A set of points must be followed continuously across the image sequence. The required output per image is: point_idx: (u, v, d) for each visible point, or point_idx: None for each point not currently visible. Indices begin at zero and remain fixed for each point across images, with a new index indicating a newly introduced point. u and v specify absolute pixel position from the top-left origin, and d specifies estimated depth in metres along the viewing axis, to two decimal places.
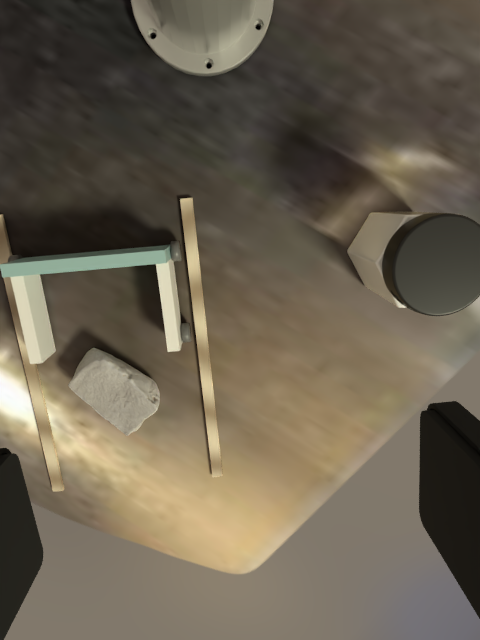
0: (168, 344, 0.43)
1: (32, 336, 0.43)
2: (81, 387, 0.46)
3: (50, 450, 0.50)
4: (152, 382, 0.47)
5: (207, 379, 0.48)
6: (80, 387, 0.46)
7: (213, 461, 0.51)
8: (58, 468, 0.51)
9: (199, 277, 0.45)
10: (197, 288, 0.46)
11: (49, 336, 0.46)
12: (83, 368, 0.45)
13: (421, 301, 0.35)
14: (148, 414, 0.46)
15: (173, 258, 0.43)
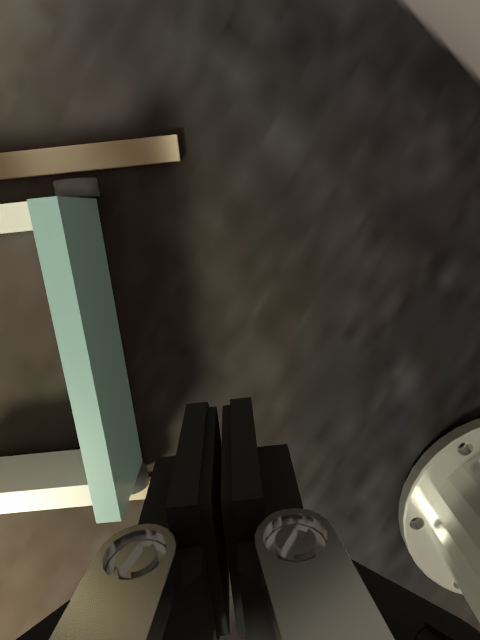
0: None
1: None
2: None
3: None
4: None
5: None
6: None
7: None
8: None
9: None
10: None
11: None
12: None
13: None
14: None
15: None
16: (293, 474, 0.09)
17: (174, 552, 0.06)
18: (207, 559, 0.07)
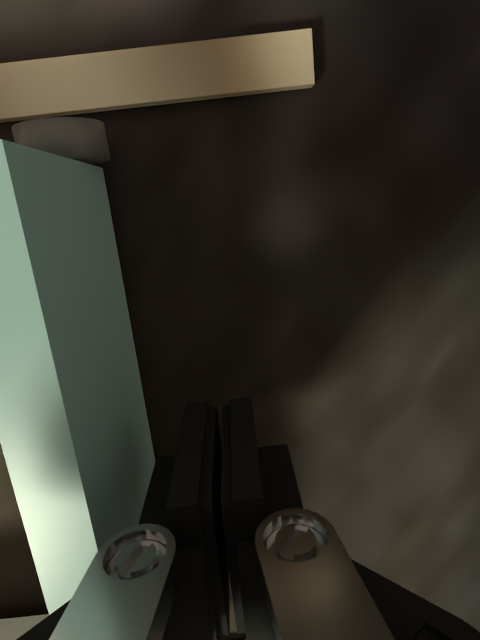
0: None
1: None
2: None
3: None
4: None
5: None
6: None
7: None
8: None
9: None
10: None
11: None
12: None
13: None
14: None
15: None
16: (293, 474, 0.09)
17: (174, 552, 0.06)
18: (207, 559, 0.07)
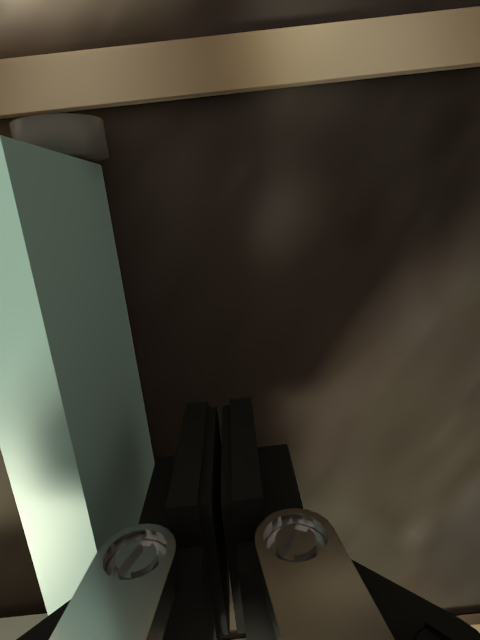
0: None
1: None
2: None
3: None
4: None
5: None
6: None
7: None
8: None
9: None
10: None
11: None
12: None
13: None
14: None
15: None
16: (293, 474, 0.09)
17: (174, 552, 0.06)
18: (207, 559, 0.07)
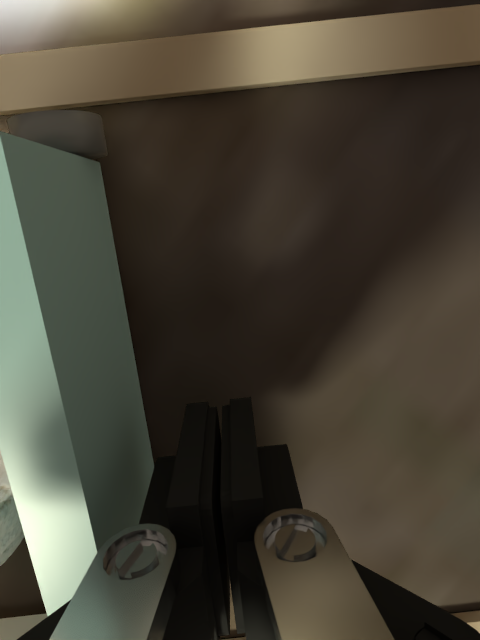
0: None
1: None
2: None
3: None
4: None
5: None
6: None
7: None
8: None
9: None
10: None
11: None
12: None
13: None
14: None
15: None
16: (293, 474, 0.09)
17: (174, 552, 0.06)
18: (207, 559, 0.07)
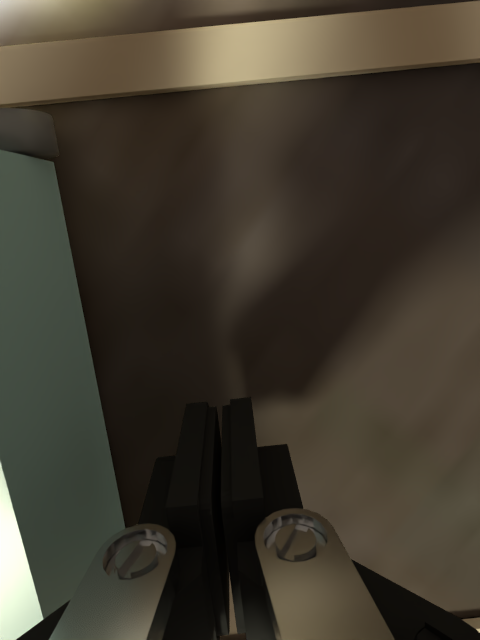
0: None
1: None
2: None
3: None
4: None
5: None
6: None
7: None
8: None
9: None
10: None
11: None
12: None
13: None
14: None
15: None
16: (293, 474, 0.09)
17: (174, 552, 0.06)
18: (207, 559, 0.07)
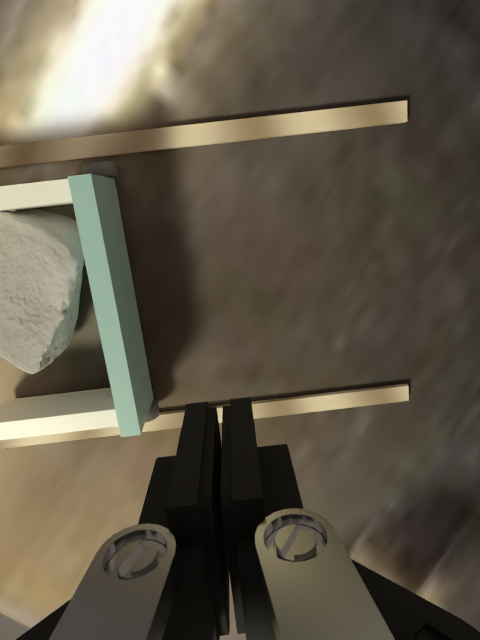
0: None
1: None
2: (7, 235, 0.26)
3: None
4: (70, 339, 0.29)
5: (144, 426, 0.32)
6: (5, 234, 0.26)
7: None
8: None
9: (300, 411, 0.32)
10: (284, 409, 0.32)
11: None
12: (43, 230, 0.25)
13: None
14: (16, 363, 0.26)
15: None
16: (293, 474, 0.09)
17: (174, 552, 0.06)
18: (207, 559, 0.07)
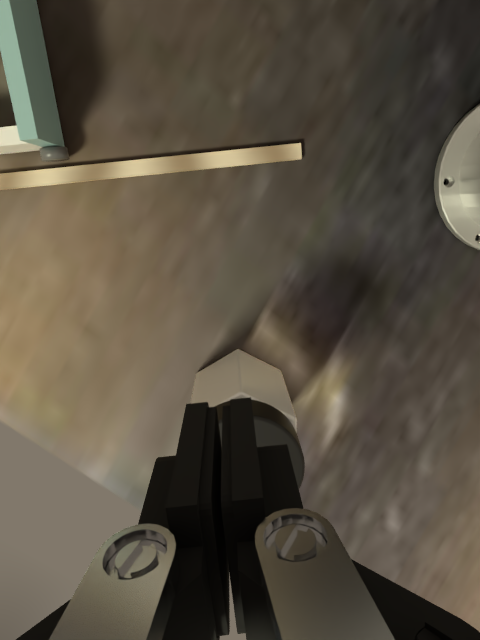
0: None
1: None
2: None
3: None
4: None
5: (57, 177, 0.34)
6: None
7: None
8: None
9: (201, 167, 0.34)
10: (187, 164, 0.34)
11: None
12: None
13: None
14: None
15: (41, 150, 0.32)
16: (293, 474, 0.09)
17: (174, 552, 0.06)
18: (207, 559, 0.07)
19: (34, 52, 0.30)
